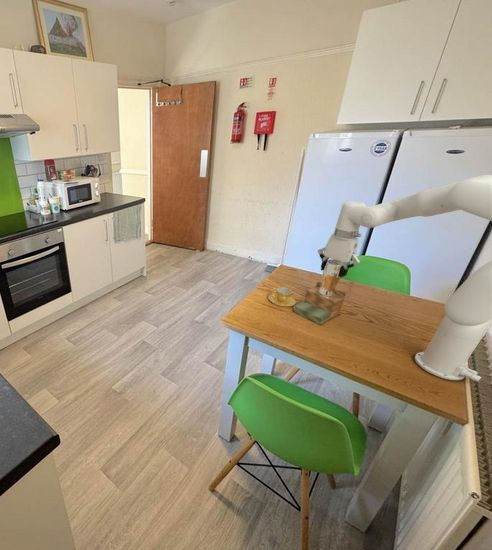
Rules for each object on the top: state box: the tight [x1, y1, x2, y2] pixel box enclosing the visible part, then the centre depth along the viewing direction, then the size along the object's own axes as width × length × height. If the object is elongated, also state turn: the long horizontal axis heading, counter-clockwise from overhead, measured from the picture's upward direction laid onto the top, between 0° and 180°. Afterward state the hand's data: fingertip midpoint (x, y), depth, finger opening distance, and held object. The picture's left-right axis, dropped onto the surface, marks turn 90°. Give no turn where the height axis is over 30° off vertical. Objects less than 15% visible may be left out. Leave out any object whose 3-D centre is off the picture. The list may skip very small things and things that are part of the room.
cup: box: [267, 286, 297, 307], centre depth 142 cm, size 12×12×5 cm
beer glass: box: [318, 258, 344, 297], centre depth 127 cm, size 7×7×15 cm
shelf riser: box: [292, 281, 348, 326], centre depth 131 cm, size 12×15×11 cm
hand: (332, 272), depth 126 cm, fingers closed on beer glass, 7 cm apart
